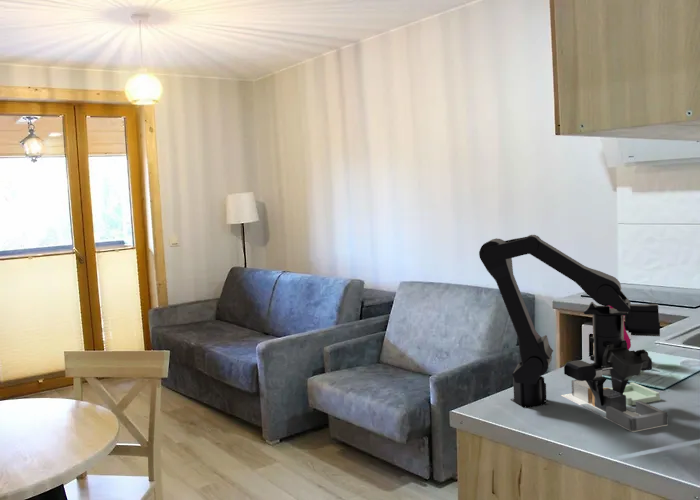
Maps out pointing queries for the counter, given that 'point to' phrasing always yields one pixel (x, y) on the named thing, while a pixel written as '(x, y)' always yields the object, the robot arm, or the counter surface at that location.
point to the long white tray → (628, 415)
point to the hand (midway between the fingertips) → (608, 403)
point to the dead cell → (582, 390)
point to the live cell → (611, 400)
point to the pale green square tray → (639, 394)
